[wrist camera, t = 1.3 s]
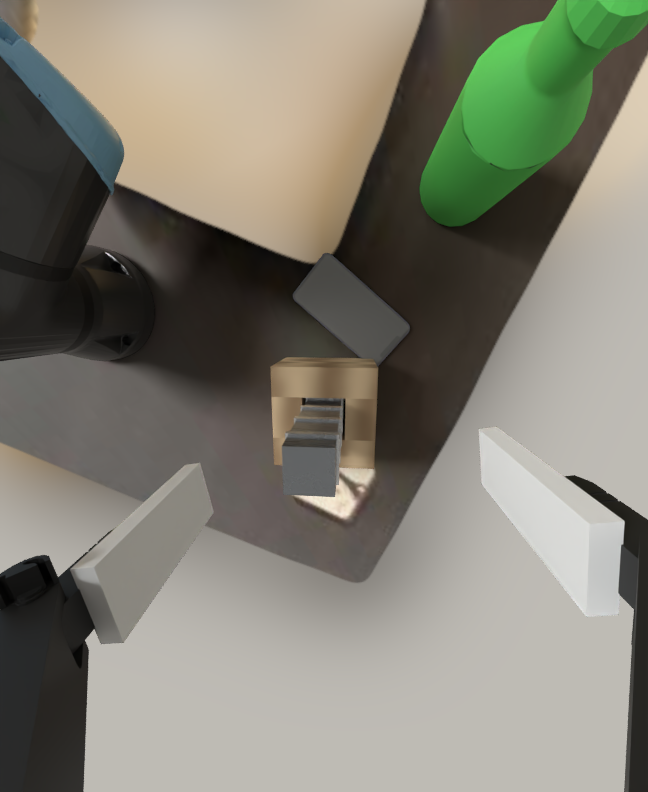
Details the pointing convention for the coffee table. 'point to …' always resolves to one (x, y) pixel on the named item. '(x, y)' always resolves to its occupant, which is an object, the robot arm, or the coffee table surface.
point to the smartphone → (350, 310)
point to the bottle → (522, 105)
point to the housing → (328, 380)
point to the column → (314, 449)
